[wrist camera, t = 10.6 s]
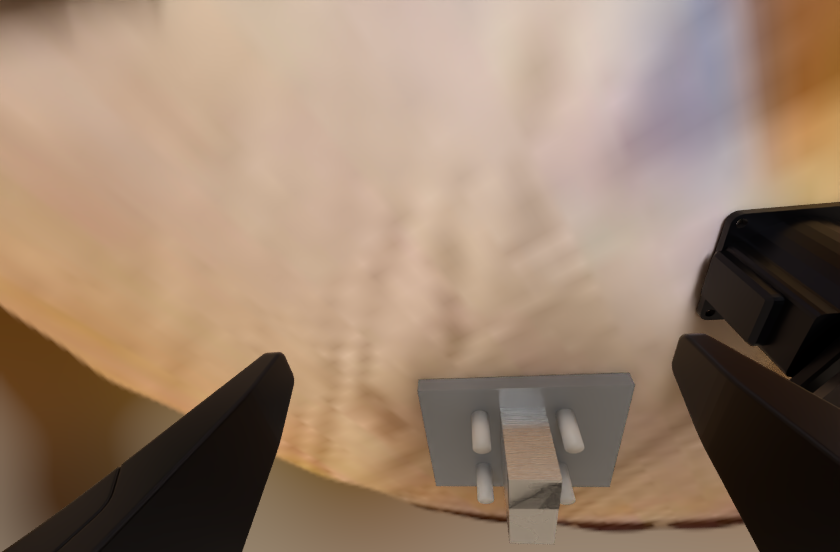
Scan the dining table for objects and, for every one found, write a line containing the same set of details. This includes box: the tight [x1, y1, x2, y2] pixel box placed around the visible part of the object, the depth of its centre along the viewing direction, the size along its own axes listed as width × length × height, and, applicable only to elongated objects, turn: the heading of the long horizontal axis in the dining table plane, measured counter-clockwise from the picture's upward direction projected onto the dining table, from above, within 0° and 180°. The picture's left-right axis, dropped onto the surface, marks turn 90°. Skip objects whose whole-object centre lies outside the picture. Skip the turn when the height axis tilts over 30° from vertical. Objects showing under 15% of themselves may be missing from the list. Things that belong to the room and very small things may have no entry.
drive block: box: [500, 407, 562, 544], centre depth 26 cm, size 3×8×5 cm, turn 8°
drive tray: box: [418, 373, 635, 505], centre depth 28 cm, size 14×12×4 cm
